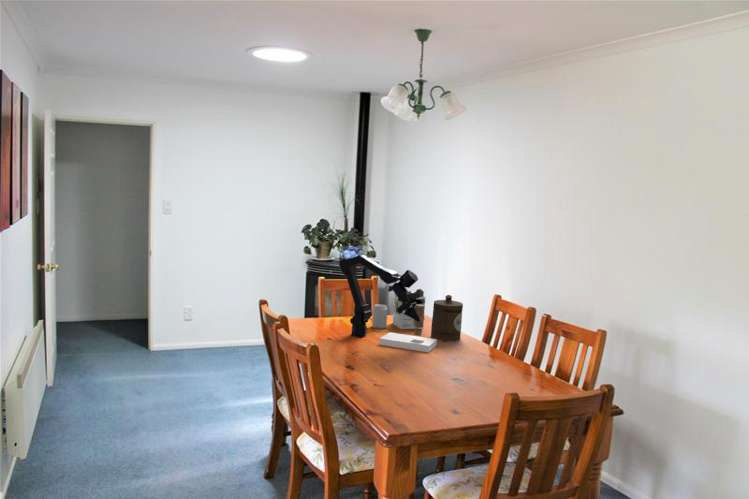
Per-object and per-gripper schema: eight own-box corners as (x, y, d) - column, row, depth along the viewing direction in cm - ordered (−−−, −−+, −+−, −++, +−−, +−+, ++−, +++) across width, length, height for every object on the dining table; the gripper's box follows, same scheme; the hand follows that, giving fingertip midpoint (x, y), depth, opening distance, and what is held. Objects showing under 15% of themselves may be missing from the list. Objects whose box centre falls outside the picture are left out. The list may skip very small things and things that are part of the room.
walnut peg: (413, 335, 299) (415, 306, 298) (412, 333, 304) (414, 304, 302) (423, 336, 299) (425, 306, 298) (422, 333, 304) (424, 304, 302)
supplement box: (392, 323, 350) (394, 291, 348) (414, 323, 354) (417, 291, 352) (400, 329, 337) (402, 296, 335) (423, 329, 341) (426, 296, 339)
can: (386, 326, 342) (388, 304, 340) (385, 329, 334) (387, 306, 333) (372, 325, 342) (374, 303, 341) (371, 328, 335) (372, 305, 333)
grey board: (379, 344, 303) (379, 338, 303) (389, 338, 316) (389, 332, 316) (428, 352, 295) (429, 345, 295) (436, 345, 308) (436, 339, 308)
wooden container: (461, 342, 317) (465, 298, 315) (431, 340, 317) (434, 296, 315) (458, 335, 332) (461, 293, 329) (429, 333, 332) (432, 291, 330)
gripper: (404, 285, 293) (424, 313, 289) (423, 281, 309) (442, 307, 305) (388, 300, 298) (407, 327, 293) (407, 295, 314) (425, 321, 309)
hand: (421, 320), depth 300 cm, fingers closed on walnut peg, 4 cm apart
